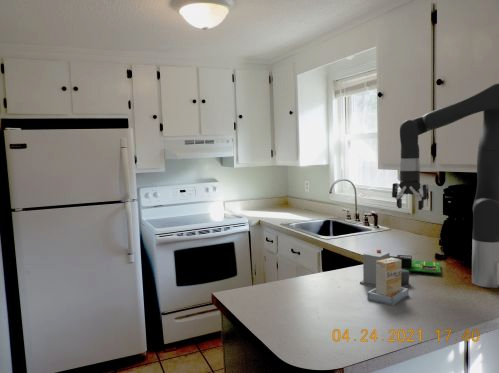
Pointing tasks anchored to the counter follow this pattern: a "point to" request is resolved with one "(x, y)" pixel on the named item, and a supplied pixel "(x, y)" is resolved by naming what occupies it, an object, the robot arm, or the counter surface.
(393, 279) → the supplement box
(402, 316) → the counter surface
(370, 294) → the tray
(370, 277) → the control box
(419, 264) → the electronic board model
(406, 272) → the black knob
